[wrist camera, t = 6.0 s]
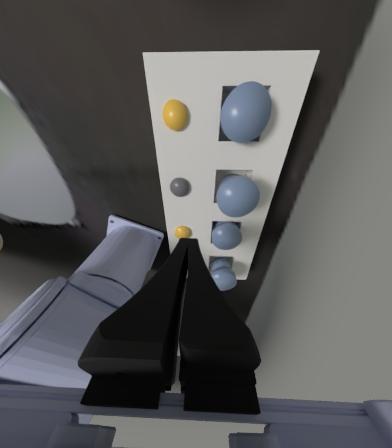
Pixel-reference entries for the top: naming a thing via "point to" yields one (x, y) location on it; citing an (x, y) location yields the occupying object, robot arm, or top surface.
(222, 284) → the button
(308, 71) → the console
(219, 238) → the button
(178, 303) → the robot arm
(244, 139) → the button
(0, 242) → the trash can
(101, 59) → the top surface
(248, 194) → the button
